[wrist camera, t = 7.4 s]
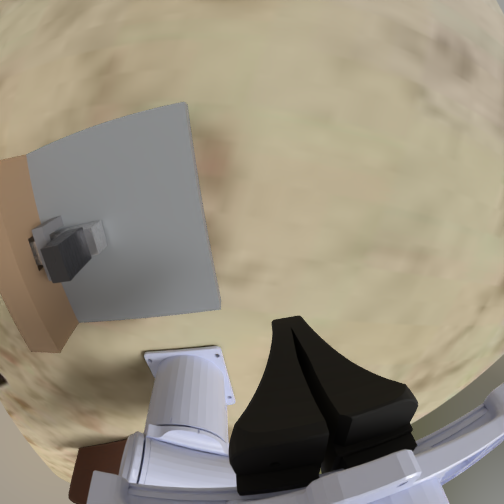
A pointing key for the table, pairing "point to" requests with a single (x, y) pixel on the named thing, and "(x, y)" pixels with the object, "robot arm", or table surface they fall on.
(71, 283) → the door and jamb
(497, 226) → the table surface
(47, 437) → the table surface
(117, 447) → the letter holder
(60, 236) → the bolt
